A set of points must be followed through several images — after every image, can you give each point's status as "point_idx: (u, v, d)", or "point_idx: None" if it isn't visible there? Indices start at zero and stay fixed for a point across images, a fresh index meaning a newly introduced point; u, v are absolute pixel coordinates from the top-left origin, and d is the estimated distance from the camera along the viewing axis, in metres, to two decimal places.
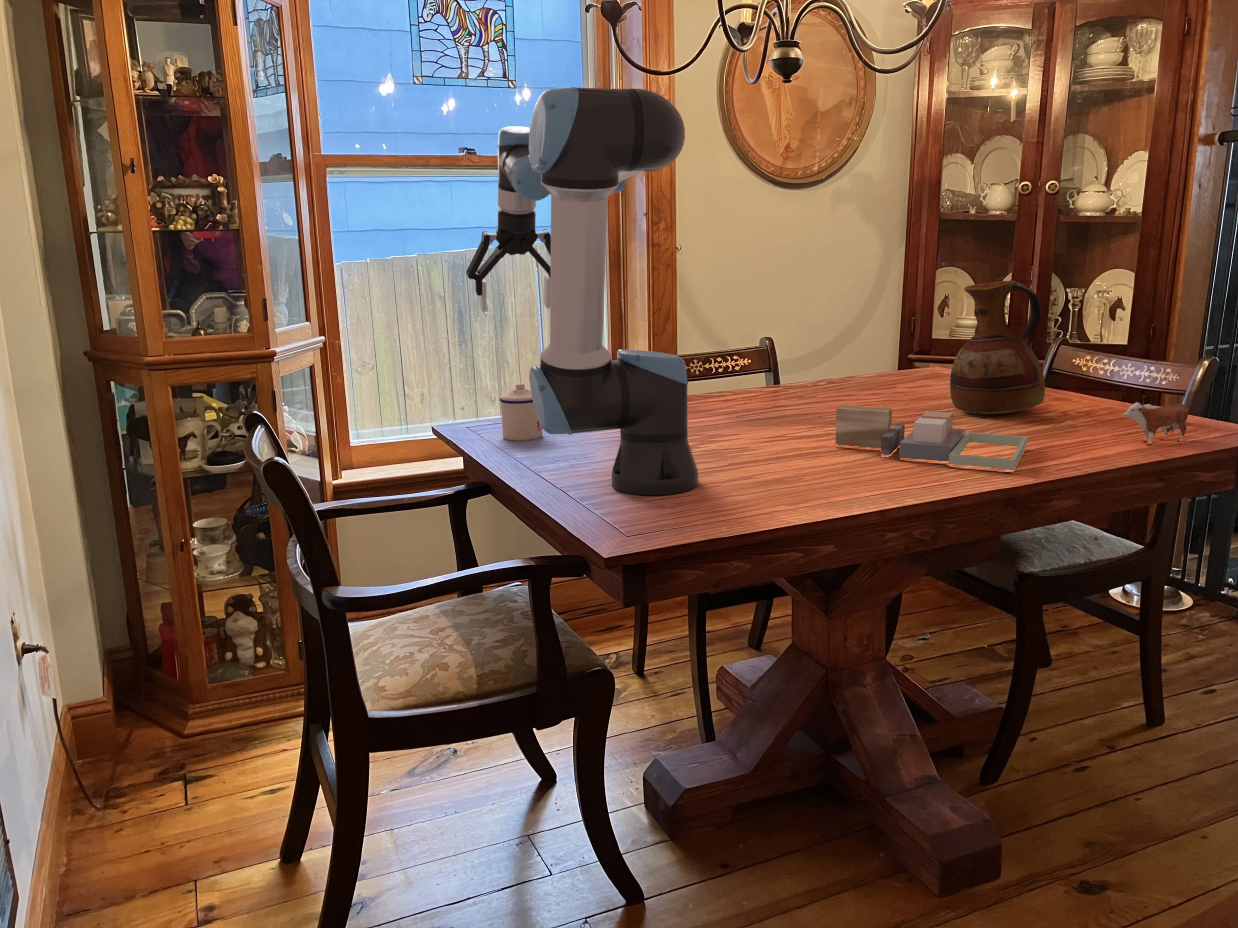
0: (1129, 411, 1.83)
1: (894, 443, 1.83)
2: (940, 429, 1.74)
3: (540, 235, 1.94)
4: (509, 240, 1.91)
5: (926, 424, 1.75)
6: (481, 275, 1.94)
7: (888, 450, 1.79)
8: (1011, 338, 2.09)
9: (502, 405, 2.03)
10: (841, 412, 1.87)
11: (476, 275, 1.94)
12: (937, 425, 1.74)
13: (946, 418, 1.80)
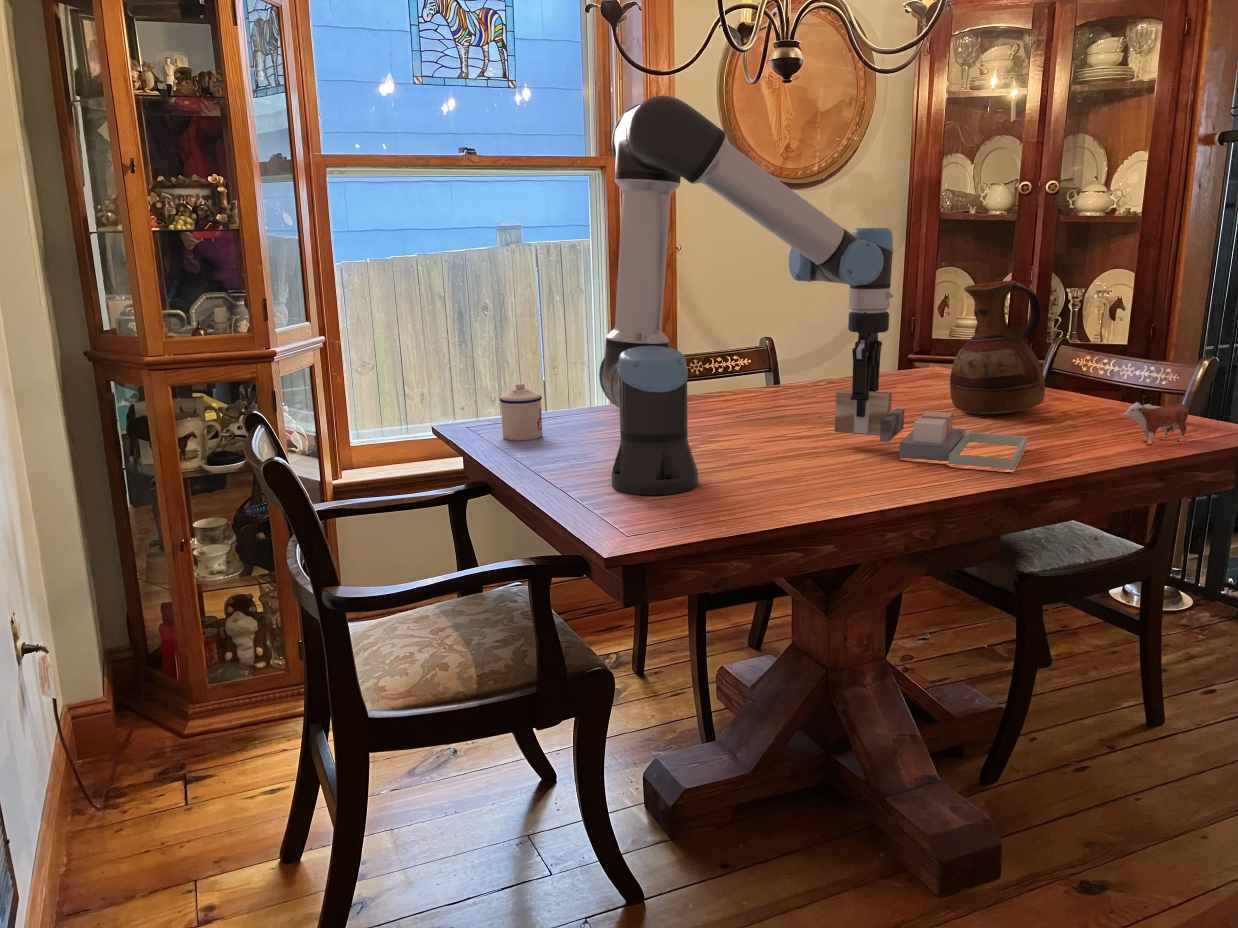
0: (1129, 411, 1.83)
1: (894, 427, 1.82)
2: (940, 429, 1.74)
3: None
4: None
5: (926, 424, 1.75)
6: None
7: (888, 434, 1.78)
8: (1011, 339, 2.09)
9: (502, 405, 2.03)
10: (840, 396, 1.86)
11: None
12: (937, 425, 1.74)
13: (946, 418, 1.80)
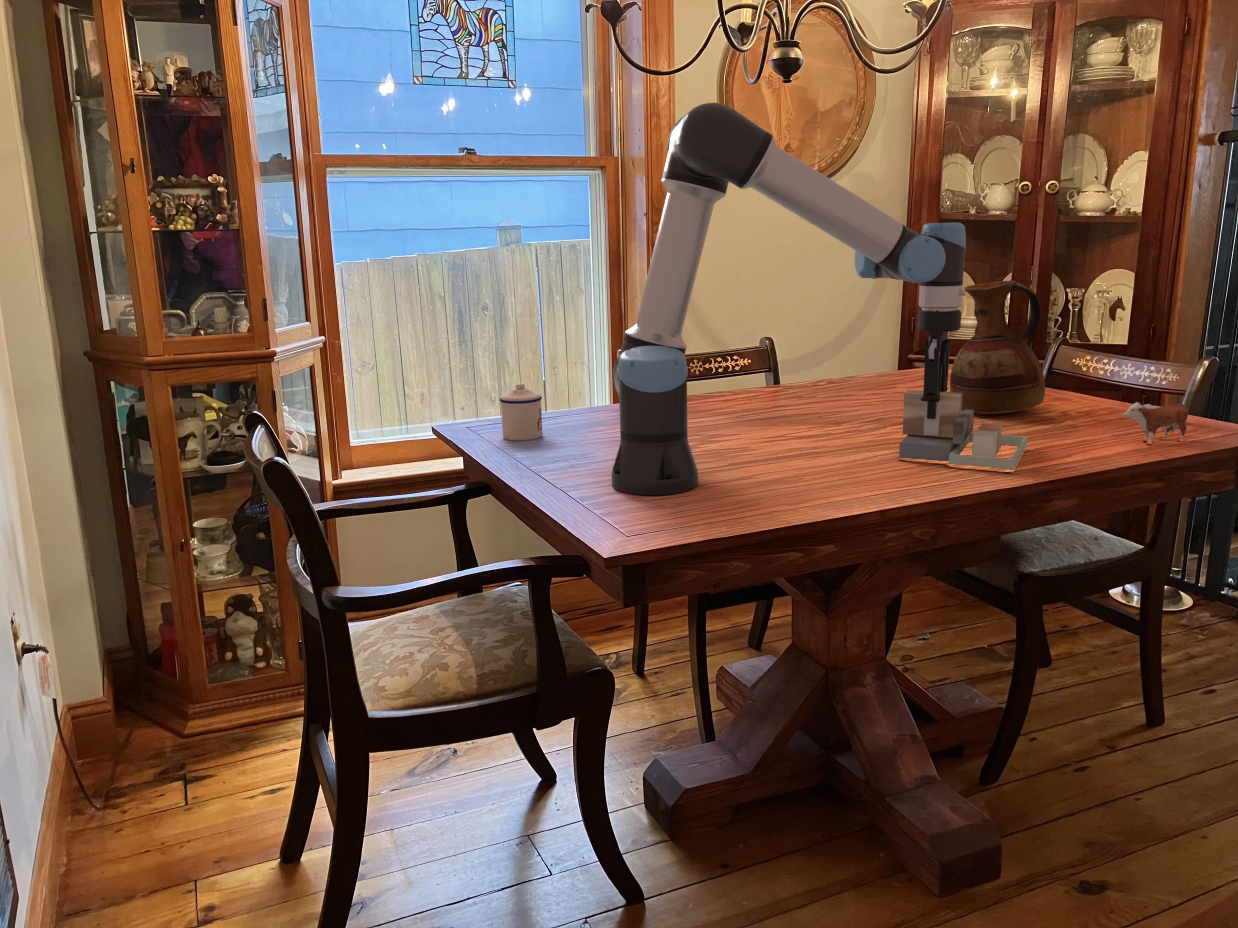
0: (1129, 411, 1.83)
1: (966, 428, 1.76)
2: None
3: None
4: None
5: (991, 449, 1.71)
6: None
7: (961, 436, 1.72)
8: (1011, 339, 2.09)
9: (502, 405, 2.03)
10: (909, 397, 1.80)
11: None
12: None
13: (996, 453, 1.77)
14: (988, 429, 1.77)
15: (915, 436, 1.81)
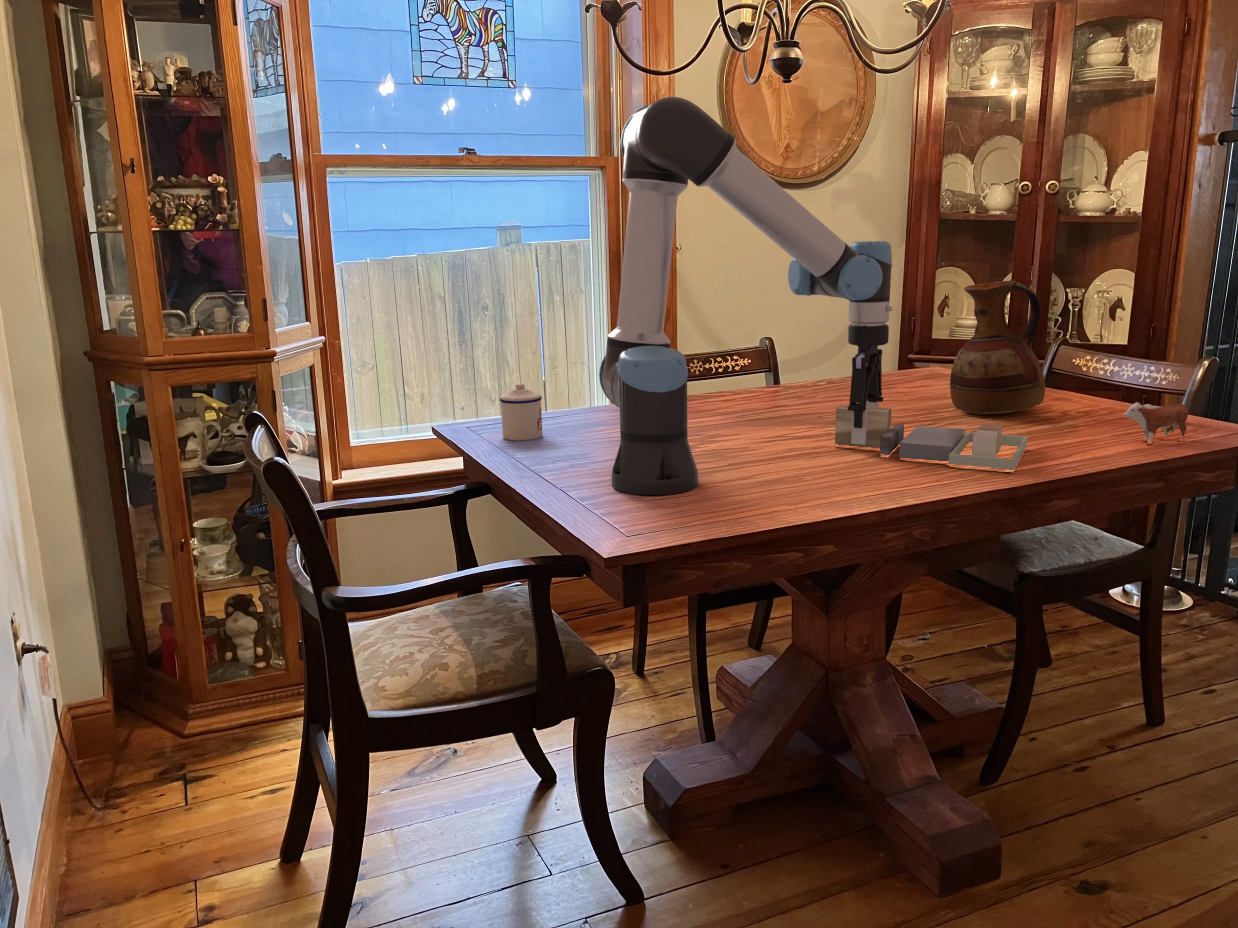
0: (1129, 411, 1.83)
1: (893, 443, 1.83)
2: None
3: None
4: None
5: (991, 449, 1.71)
6: None
7: (888, 450, 1.79)
8: (1011, 338, 2.09)
9: (502, 405, 2.03)
10: (840, 412, 1.87)
11: None
12: None
13: (996, 453, 1.77)
14: (988, 429, 1.77)
15: (915, 436, 1.81)
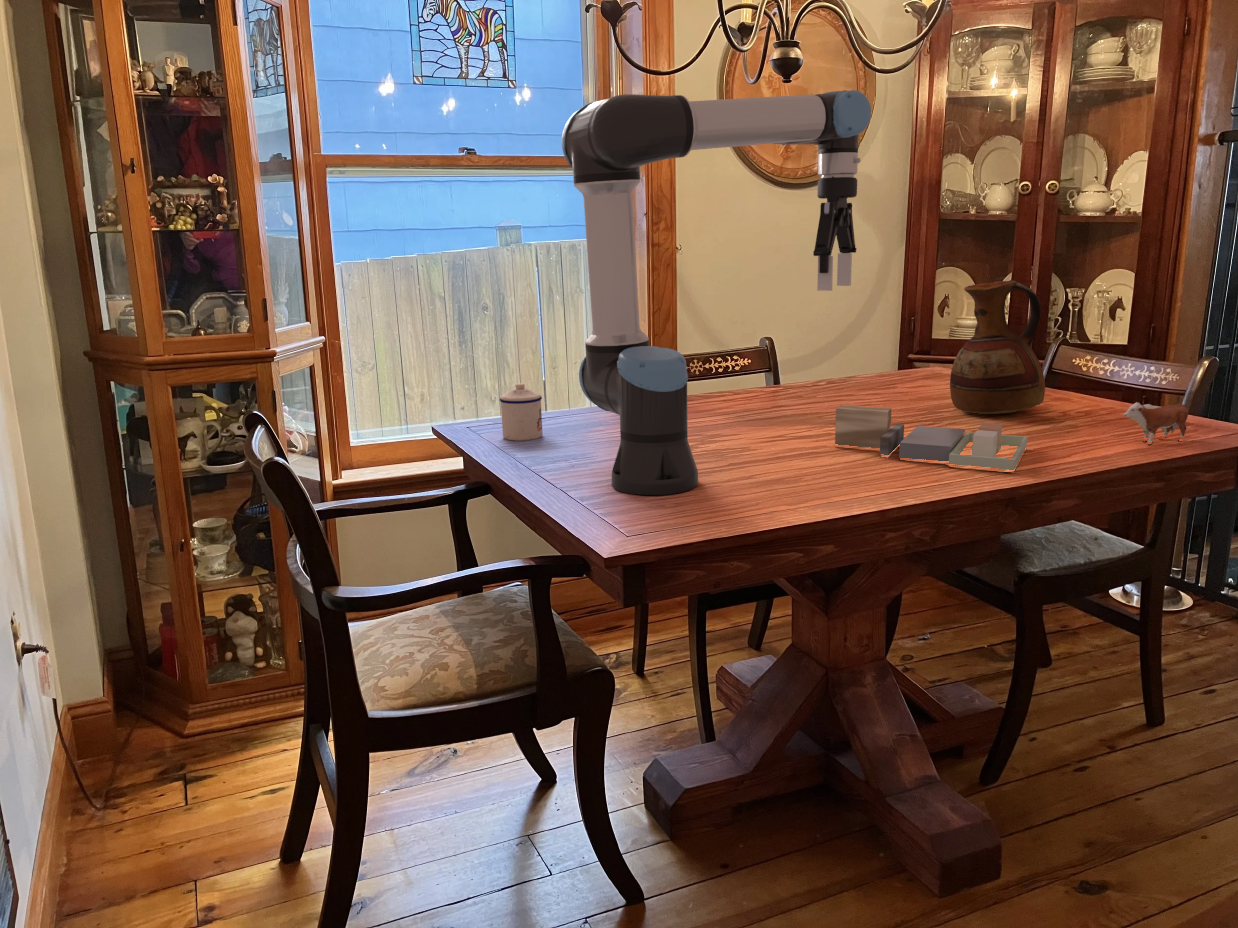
0: (1129, 411, 1.83)
1: (893, 443, 1.83)
2: None
3: None
4: None
5: (991, 449, 1.71)
6: None
7: (888, 450, 1.79)
8: (1011, 339, 2.09)
9: (502, 405, 2.03)
10: (840, 412, 1.87)
11: None
12: None
13: (996, 453, 1.77)
14: (988, 429, 1.77)
15: (915, 436, 1.81)
